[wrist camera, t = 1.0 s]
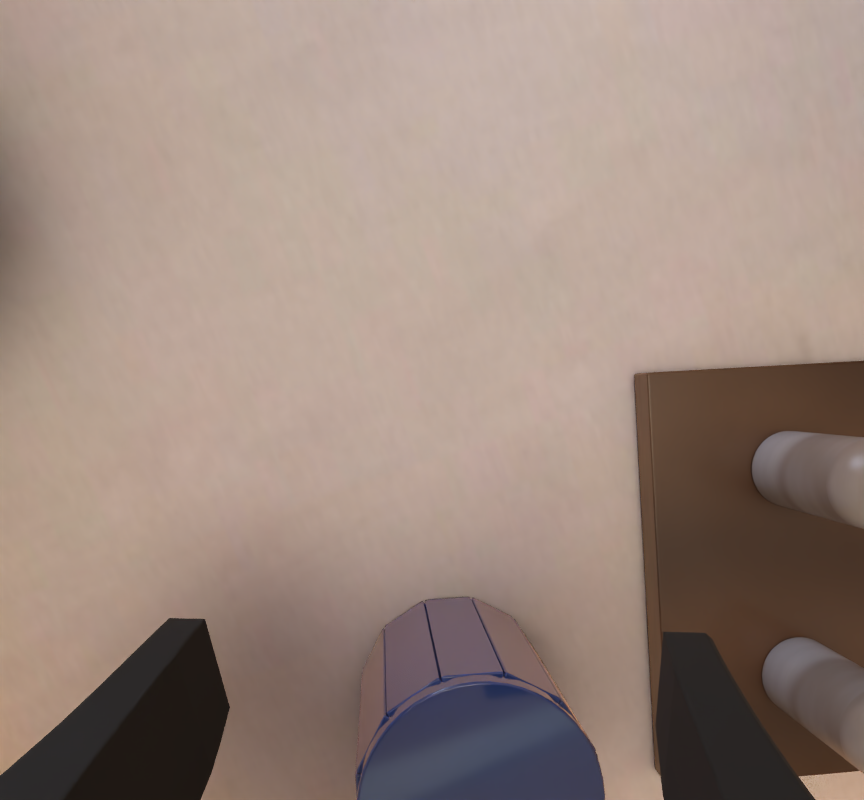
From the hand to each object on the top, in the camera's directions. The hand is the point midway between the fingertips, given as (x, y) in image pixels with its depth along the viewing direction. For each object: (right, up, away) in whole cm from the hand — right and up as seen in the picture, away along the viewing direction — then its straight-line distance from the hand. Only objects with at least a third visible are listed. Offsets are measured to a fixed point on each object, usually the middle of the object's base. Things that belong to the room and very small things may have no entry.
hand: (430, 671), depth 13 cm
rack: (+10, -1, +12) cm, 16 cm away
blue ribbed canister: (+1, -4, +11) cm, 12 cm away
